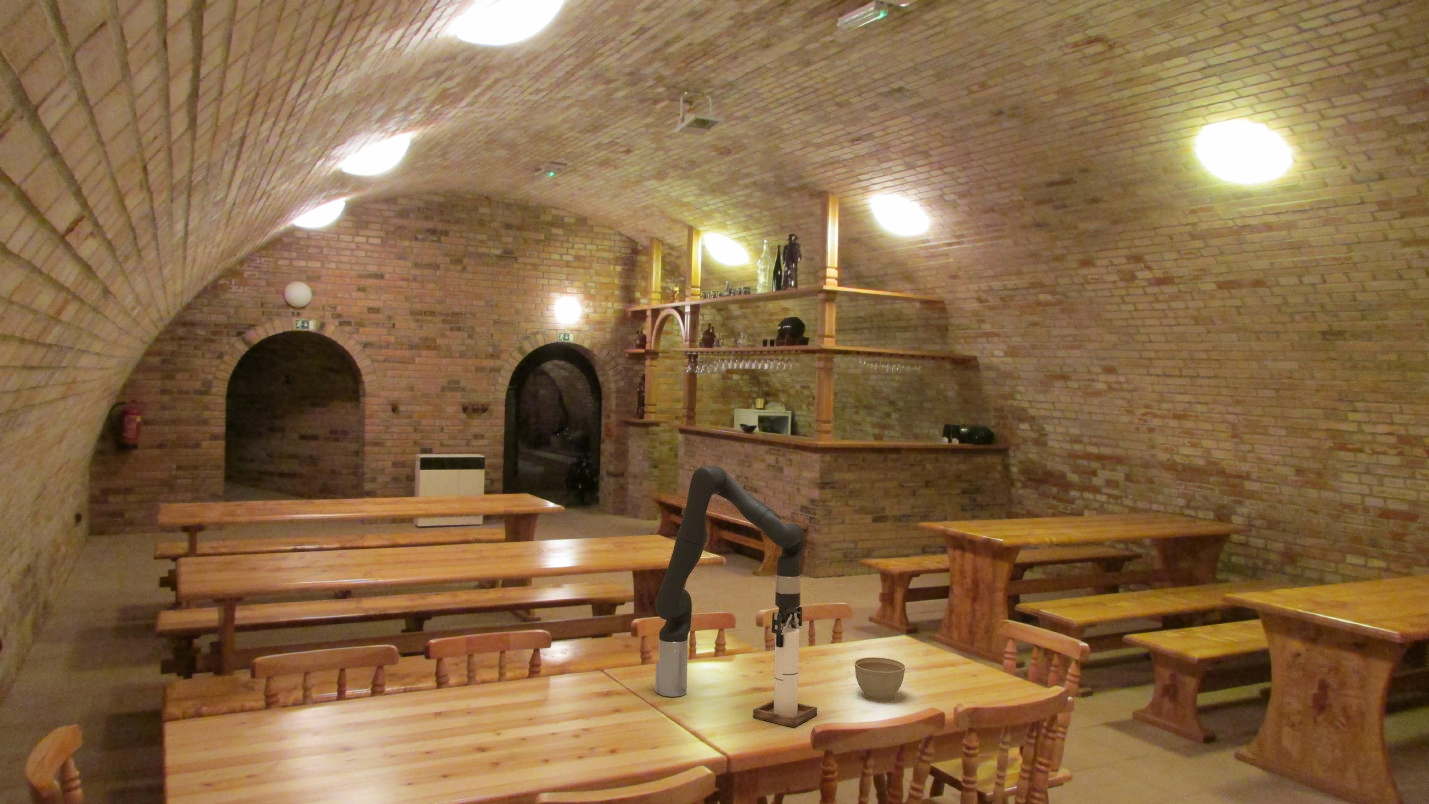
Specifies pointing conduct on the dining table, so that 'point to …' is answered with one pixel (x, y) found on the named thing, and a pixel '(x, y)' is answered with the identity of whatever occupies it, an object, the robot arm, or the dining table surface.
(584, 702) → the dining table surface
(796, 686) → the cylindrical container
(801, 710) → the walnut tray
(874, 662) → the planter bowl
